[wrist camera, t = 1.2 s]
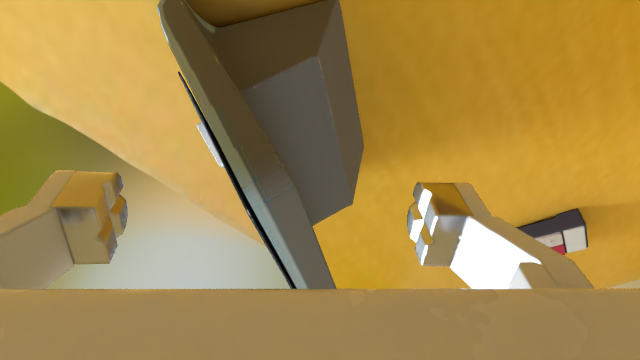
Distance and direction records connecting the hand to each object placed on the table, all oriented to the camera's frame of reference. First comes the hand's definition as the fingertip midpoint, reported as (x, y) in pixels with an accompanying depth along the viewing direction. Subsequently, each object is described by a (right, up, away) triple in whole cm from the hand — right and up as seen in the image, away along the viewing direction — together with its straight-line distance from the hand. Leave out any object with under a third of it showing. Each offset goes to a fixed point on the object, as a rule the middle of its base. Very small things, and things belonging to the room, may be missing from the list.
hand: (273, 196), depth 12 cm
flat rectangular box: (+48, -10, +78) cm, 92 cm away
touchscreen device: (-4, +11, +45) cm, 46 cm away
